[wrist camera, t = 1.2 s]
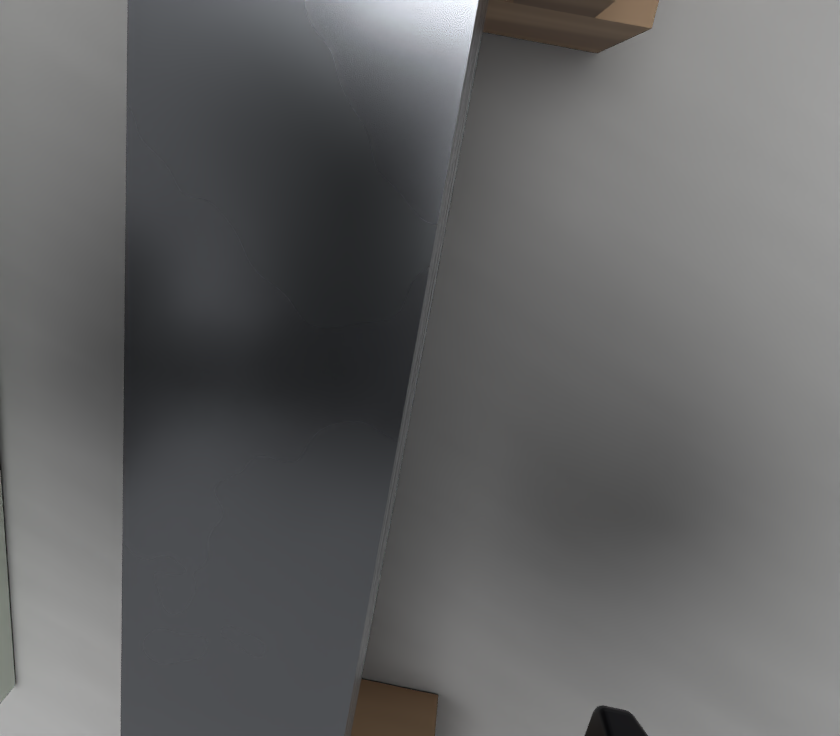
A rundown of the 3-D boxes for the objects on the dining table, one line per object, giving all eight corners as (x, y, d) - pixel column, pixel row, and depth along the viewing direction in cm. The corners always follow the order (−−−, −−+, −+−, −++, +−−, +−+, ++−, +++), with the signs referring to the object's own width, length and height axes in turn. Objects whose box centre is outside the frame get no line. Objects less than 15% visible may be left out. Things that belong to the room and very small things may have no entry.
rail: (313, 934, 15) (274, 1118, 13) (184, 906, 15) (117, 1082, 13) (549, -320, 7) (585, -586, 4) (270, -367, 7) (133, -661, 4)
